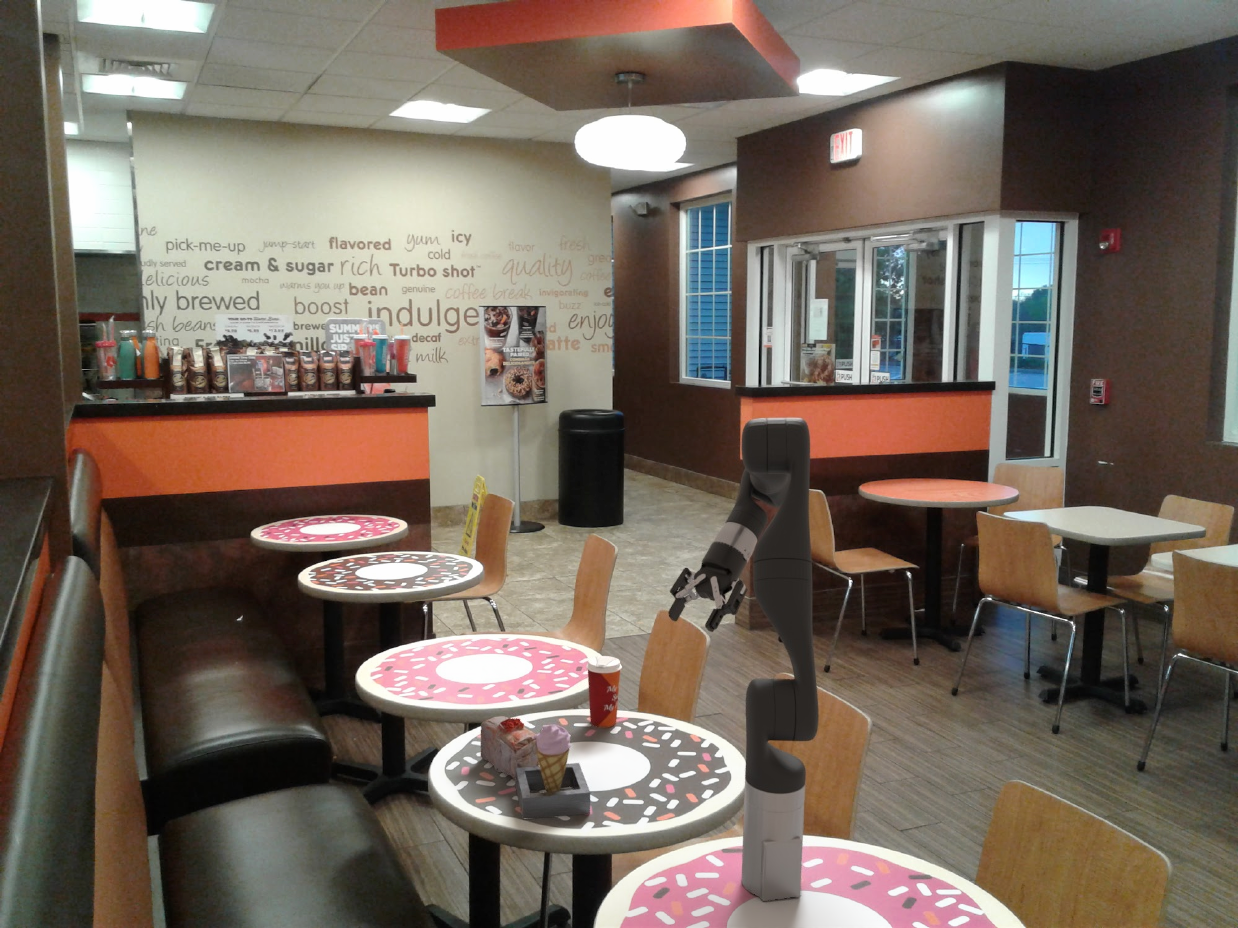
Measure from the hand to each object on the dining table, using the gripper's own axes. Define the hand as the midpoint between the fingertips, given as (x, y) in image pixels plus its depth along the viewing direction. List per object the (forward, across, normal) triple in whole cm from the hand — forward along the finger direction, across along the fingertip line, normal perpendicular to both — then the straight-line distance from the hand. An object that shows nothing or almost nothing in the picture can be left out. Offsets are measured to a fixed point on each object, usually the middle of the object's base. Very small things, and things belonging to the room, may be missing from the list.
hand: (690, 624), depth 181 cm
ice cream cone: (+37, -16, +10) cm, 41 cm away
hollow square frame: (+37, -16, +9) cm, 41 cm away
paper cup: (+14, -34, +32) cm, 49 cm away
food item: (+34, -32, +12) cm, 48 cm away
